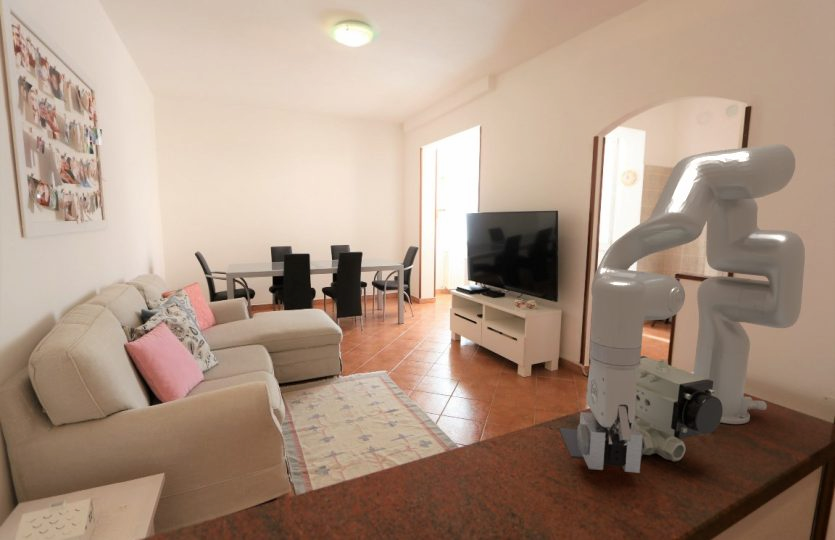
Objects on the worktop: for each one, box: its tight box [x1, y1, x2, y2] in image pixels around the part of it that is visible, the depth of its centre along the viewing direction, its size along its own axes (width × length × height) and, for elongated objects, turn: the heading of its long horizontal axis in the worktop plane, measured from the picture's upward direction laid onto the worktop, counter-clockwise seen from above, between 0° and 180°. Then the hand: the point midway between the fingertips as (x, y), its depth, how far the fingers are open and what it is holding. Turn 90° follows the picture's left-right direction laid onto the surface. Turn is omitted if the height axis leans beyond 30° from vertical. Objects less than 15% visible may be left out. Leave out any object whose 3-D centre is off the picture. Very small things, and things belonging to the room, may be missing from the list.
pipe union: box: [577, 411, 644, 474], centre depth 67 cm, size 9×6×6 cm
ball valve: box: [634, 355, 723, 462], centre depth 75 cm, size 18×8×18 cm, turn 21°
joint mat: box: [559, 427, 584, 459], centre depth 77 cm, size 10×10×1 cm
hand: (607, 453), depth 68 cm, fingers closed on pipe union, 4 cm apart
